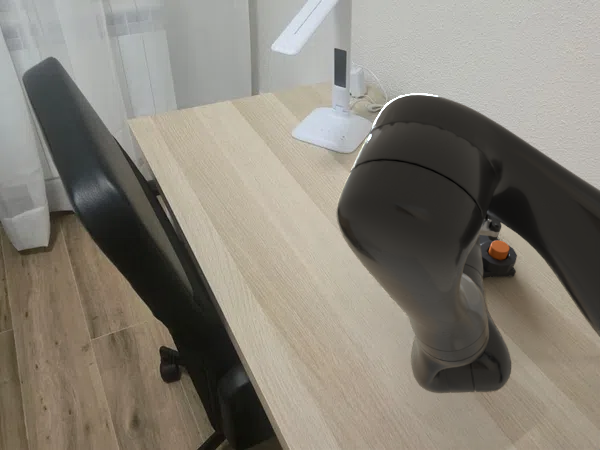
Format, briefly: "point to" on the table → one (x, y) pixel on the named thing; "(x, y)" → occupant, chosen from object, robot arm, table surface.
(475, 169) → the robot arm
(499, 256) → the tare button
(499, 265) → the scale
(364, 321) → the table surface
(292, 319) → the table surface
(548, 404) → the table surface
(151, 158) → the table surface
